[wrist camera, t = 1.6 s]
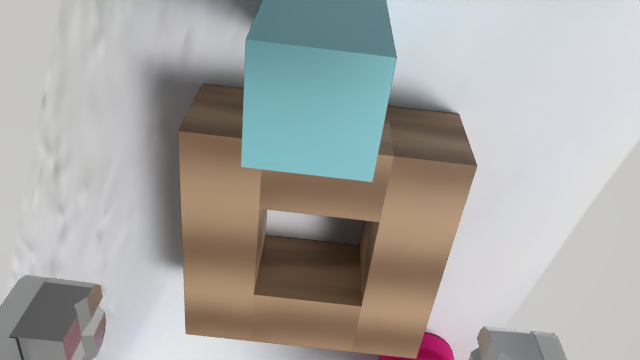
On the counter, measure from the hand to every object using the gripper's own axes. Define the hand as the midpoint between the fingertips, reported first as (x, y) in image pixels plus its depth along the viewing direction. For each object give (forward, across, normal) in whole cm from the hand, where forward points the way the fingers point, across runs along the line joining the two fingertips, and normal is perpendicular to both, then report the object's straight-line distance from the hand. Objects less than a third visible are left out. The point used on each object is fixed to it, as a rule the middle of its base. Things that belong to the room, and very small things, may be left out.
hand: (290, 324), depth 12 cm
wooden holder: (+24, -1, +14) cm, 27 cm away
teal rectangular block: (+24, 0, 0) cm, 24 cm away
